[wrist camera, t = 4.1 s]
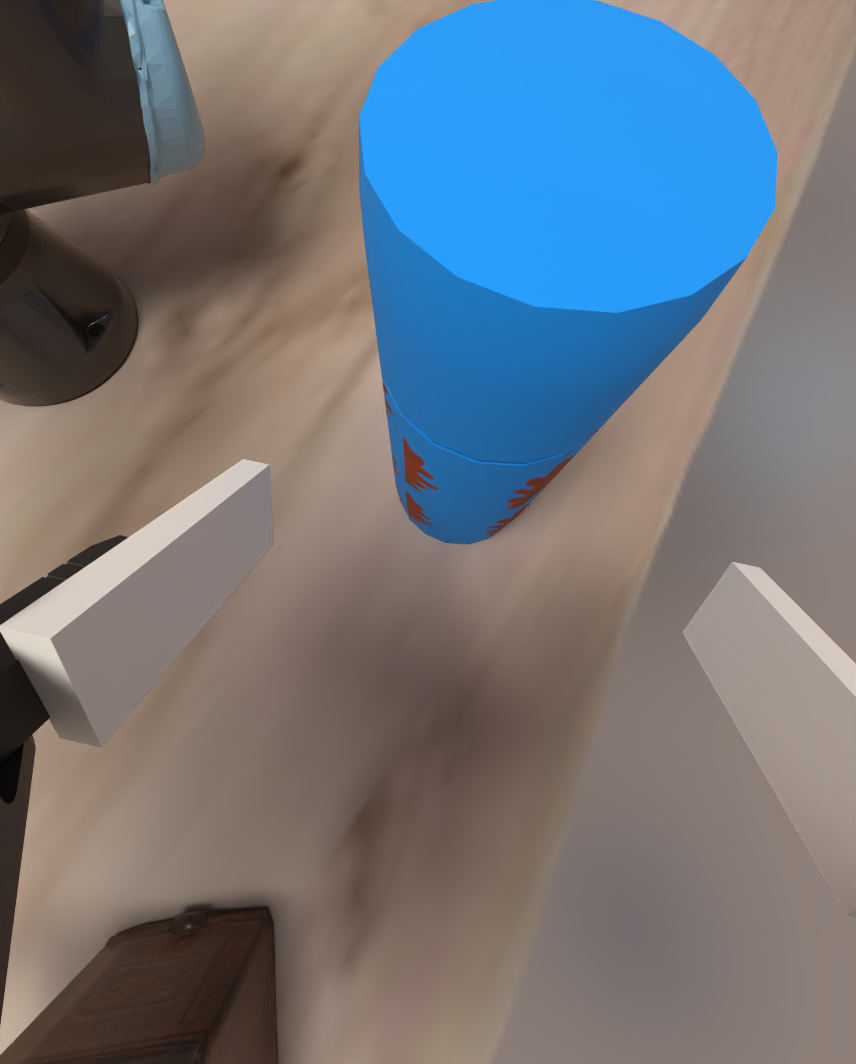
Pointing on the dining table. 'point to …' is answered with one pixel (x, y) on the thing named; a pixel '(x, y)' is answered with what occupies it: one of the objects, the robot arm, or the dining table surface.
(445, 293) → the thermos
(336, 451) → the dining table surface
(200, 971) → the manual coffee grinder
